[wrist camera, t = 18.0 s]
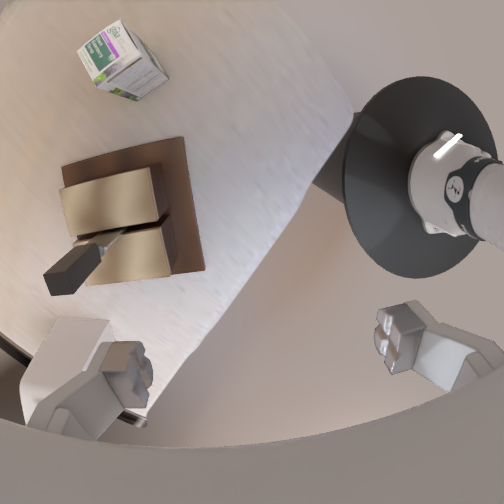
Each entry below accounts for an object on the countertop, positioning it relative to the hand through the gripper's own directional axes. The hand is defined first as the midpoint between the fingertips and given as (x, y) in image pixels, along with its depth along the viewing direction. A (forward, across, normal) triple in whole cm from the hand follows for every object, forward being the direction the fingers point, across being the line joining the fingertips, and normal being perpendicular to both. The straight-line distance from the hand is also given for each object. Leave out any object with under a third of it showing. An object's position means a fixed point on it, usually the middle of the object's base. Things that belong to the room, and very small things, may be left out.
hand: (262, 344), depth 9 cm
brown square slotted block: (+34, +17, +2) cm, 38 cm away
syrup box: (+34, +11, -18) cm, 40 cm away
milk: (+34, +33, +26) cm, 54 cm away
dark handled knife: (+27, +17, +2) cm, 32 cm away
